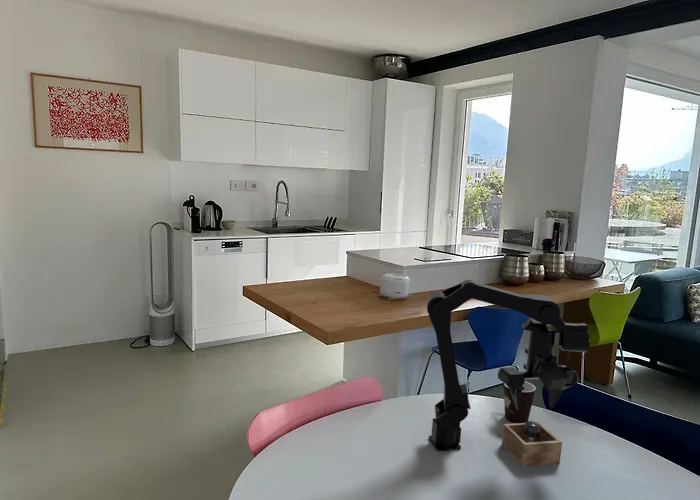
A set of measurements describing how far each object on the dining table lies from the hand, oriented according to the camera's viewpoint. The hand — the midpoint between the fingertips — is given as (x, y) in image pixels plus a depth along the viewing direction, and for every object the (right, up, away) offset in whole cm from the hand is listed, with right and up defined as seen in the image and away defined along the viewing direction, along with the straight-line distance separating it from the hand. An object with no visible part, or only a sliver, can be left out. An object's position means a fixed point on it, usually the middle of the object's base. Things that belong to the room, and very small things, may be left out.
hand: (534, 408), depth 123 cm
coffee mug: (+2, -9, +22) cm, 24 cm away
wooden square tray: (-1, -12, +2) cm, 12 cm away
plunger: (0, -11, +2) cm, 11 cm away
